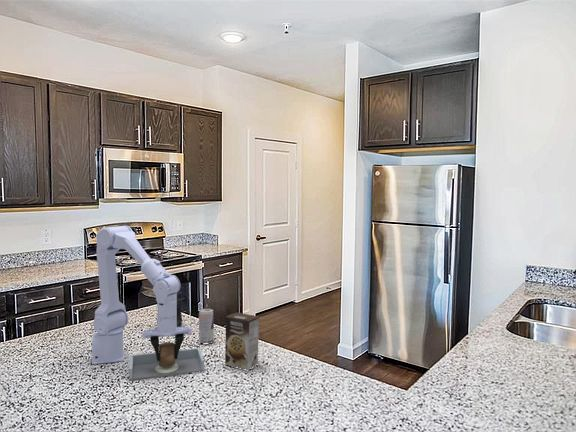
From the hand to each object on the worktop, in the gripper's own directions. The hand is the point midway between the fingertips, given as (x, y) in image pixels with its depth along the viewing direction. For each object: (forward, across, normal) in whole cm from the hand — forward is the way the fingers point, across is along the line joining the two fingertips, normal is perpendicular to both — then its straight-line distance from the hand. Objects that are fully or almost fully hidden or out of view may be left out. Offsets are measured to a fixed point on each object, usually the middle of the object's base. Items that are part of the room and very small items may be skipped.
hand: (167, 358), depth 129 cm
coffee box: (+4, +23, -3) cm, 24 cm away
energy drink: (+4, +15, +21) cm, 26 cm away
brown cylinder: (+2, 0, 0) cm, 2 cm away
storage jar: (+4, +3, +41) cm, 41 cm away
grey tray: (+4, 0, +1) cm, 4 cm away
